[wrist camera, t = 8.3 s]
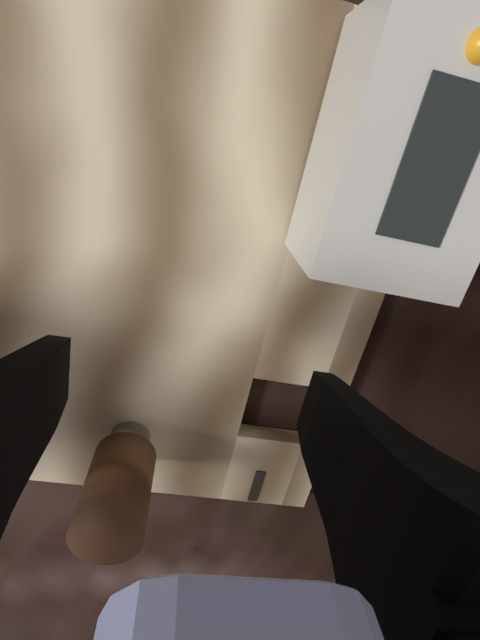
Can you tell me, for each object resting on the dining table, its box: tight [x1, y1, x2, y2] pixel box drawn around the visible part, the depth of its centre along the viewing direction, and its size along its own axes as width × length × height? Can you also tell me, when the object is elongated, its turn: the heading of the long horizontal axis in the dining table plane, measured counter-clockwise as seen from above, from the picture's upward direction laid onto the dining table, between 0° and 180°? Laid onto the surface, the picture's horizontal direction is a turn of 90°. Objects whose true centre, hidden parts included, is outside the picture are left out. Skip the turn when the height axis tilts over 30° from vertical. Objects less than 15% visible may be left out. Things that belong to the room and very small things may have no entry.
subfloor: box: [0, 0, 386, 507], centre depth 21 cm, size 19×26×1 cm
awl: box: [66, 421, 156, 565], centre depth 20 cm, size 3×3×6 cm
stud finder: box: [285, 0, 480, 307], centre depth 16 cm, size 6×9×6 cm, turn 167°
